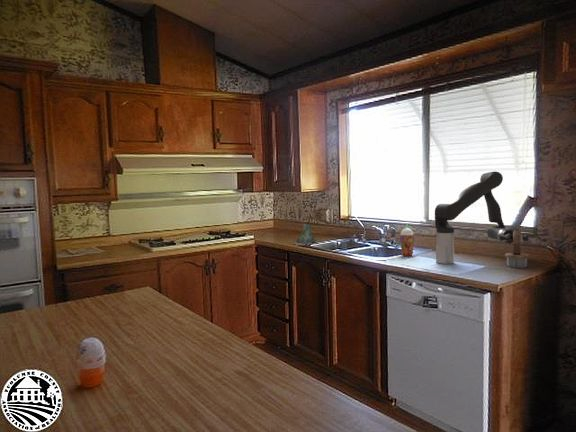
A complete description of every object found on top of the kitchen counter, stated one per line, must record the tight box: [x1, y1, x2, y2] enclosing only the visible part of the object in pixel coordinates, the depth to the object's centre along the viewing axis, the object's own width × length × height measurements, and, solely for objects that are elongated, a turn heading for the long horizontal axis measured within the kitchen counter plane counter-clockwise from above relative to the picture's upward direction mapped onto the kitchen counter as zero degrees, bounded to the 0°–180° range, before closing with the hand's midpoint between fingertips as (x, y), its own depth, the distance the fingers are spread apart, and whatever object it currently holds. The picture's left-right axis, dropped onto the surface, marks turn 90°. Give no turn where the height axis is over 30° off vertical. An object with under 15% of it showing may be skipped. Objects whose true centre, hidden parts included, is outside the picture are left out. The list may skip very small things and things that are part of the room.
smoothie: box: [399, 223, 415, 257], centre depth 273 cm, size 8×8×20 cm
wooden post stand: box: [504, 230, 530, 259], centre depth 230 cm, size 11×11×14 cm
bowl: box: [506, 257, 528, 269], centre depth 231 cm, size 9×9×5 cm
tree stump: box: [293, 223, 317, 244], centre depth 342 cm, size 18×20×18 cm
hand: (518, 239), depth 229 cm, fingers open, 8 cm apart
